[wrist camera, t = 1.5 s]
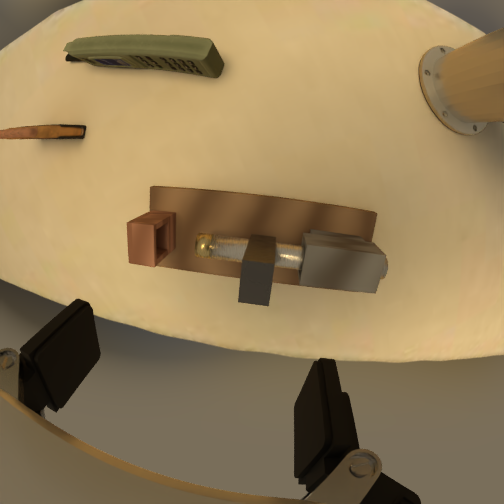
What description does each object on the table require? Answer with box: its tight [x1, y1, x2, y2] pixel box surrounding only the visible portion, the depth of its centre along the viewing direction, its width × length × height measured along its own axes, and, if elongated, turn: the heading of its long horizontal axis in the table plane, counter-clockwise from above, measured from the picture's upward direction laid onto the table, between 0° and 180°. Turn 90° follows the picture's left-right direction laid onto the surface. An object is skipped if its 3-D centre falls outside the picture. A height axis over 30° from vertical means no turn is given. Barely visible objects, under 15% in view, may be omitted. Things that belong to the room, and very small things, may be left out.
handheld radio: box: [63, 35, 224, 78], centre depth 22 cm, size 7×3×25 cm
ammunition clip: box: [0, 124, 86, 139], centre depth 24 cm, size 11×2×12 cm, turn 77°
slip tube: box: [195, 233, 388, 306], centre depth 24 cm, size 20×4×8 cm, turn 84°
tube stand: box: [127, 186, 386, 293], centre depth 28 cm, size 26×10×7 cm, turn 84°
